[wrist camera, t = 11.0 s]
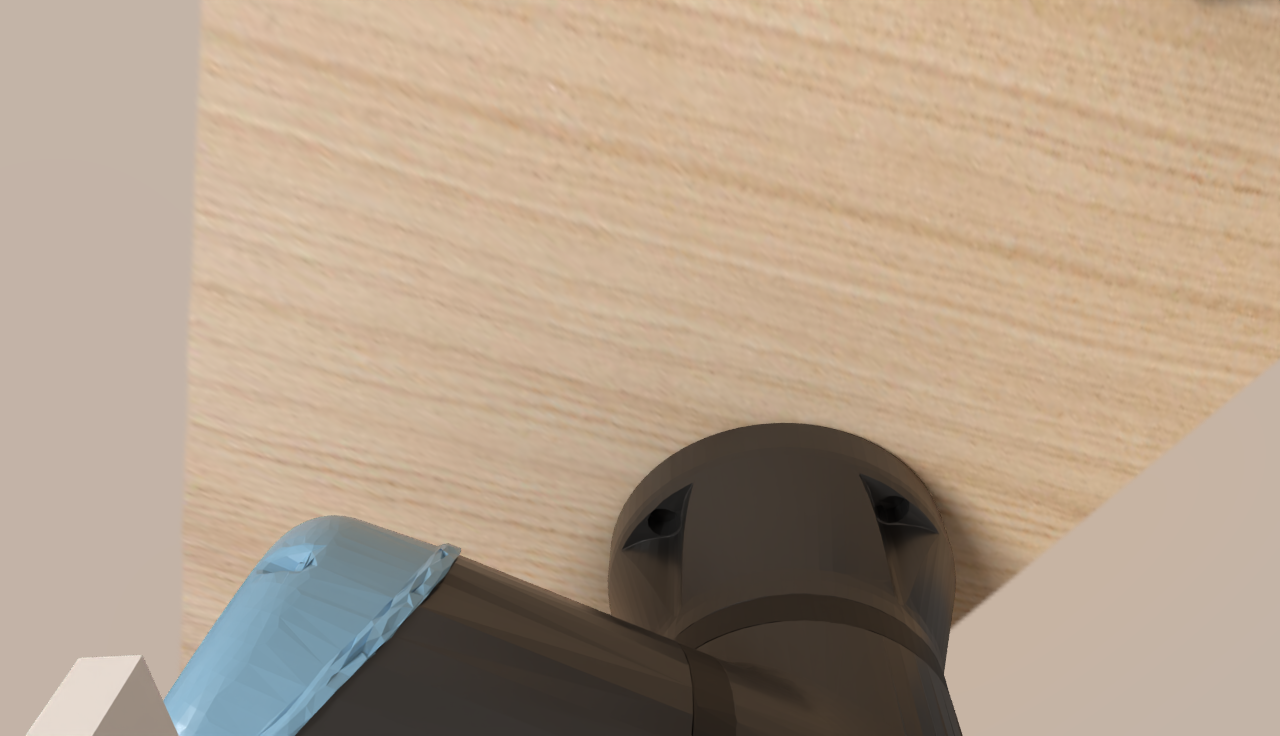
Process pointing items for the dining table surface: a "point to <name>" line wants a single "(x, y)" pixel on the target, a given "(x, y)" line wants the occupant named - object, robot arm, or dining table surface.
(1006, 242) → the dining table surface
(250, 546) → the dining table surface
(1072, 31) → the dining table surface
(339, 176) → the dining table surface
